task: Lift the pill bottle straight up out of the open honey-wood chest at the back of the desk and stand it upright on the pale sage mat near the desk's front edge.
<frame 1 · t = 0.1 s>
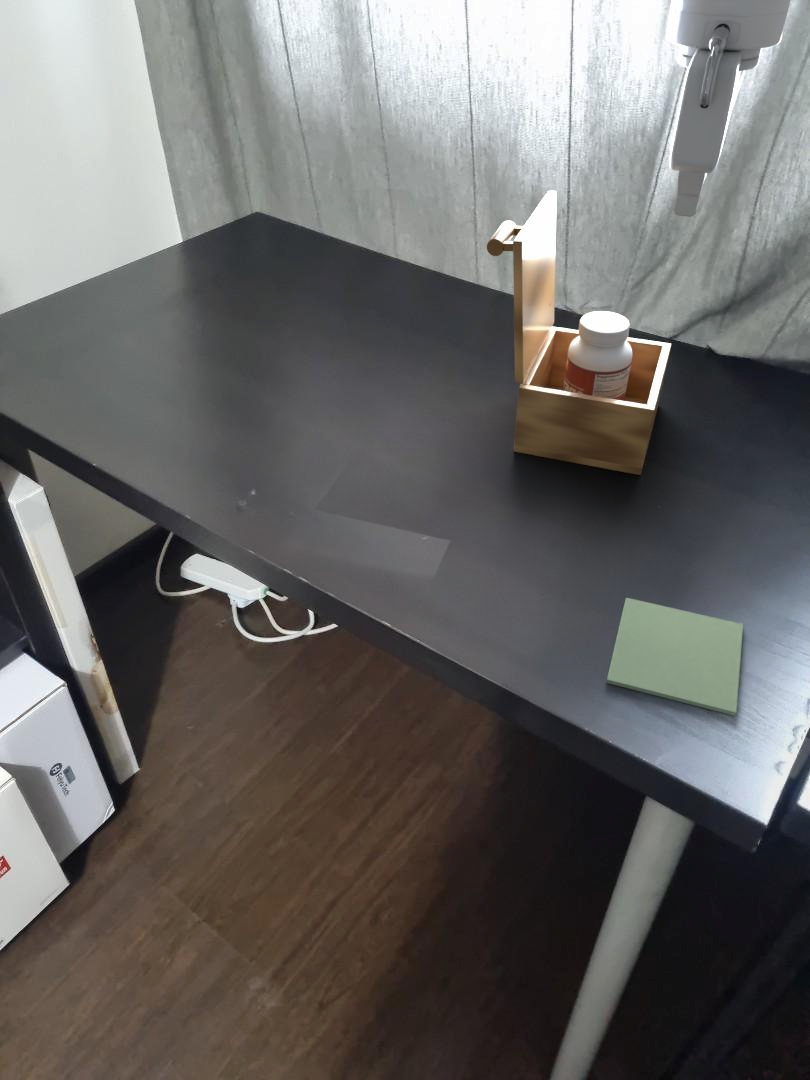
hand: (690, 196, 74), 22 cm above the table, tool pointing down, fingers open, 8 cm apart
chest lid: (517, 285, 79), point 14 cm above the table, hinge at 95.0°
chest: (588, 427, 86), on the table
pill bottle: (589, 422, 86), point 1 cm above the table, touching chest
mat: (676, 654, 62), on the table
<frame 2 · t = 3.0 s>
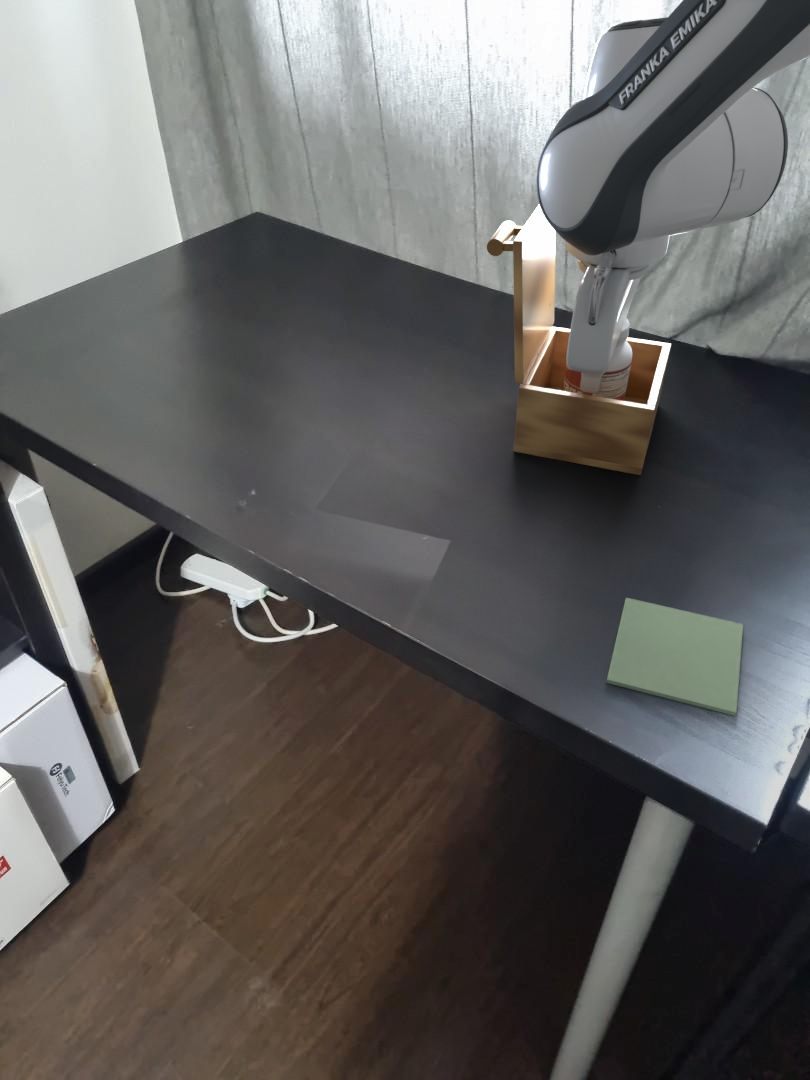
hand: (597, 370, 82), 7 cm above the table, tool pointing down, fingers closed on pill bottle, 6 cm apart
pill bottle: (589, 422, 86), point 1 cm above the table, touching chest, gripper
everything else where it was.
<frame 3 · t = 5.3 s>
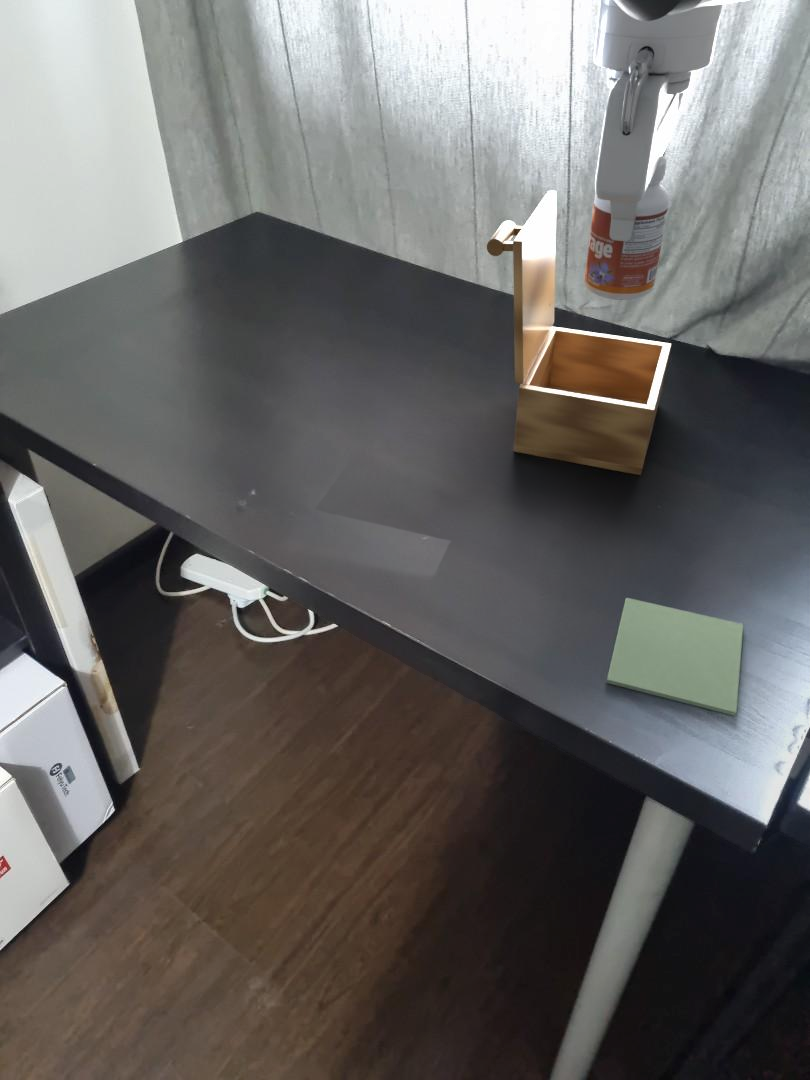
hand: (628, 222, 71), 22 cm above the table, tool pointing down, fingers closed on pill bottle, 6 cm apart
pill bottle: (618, 289, 75), point 16 cm above the table, touching gripper
everything else where it was.
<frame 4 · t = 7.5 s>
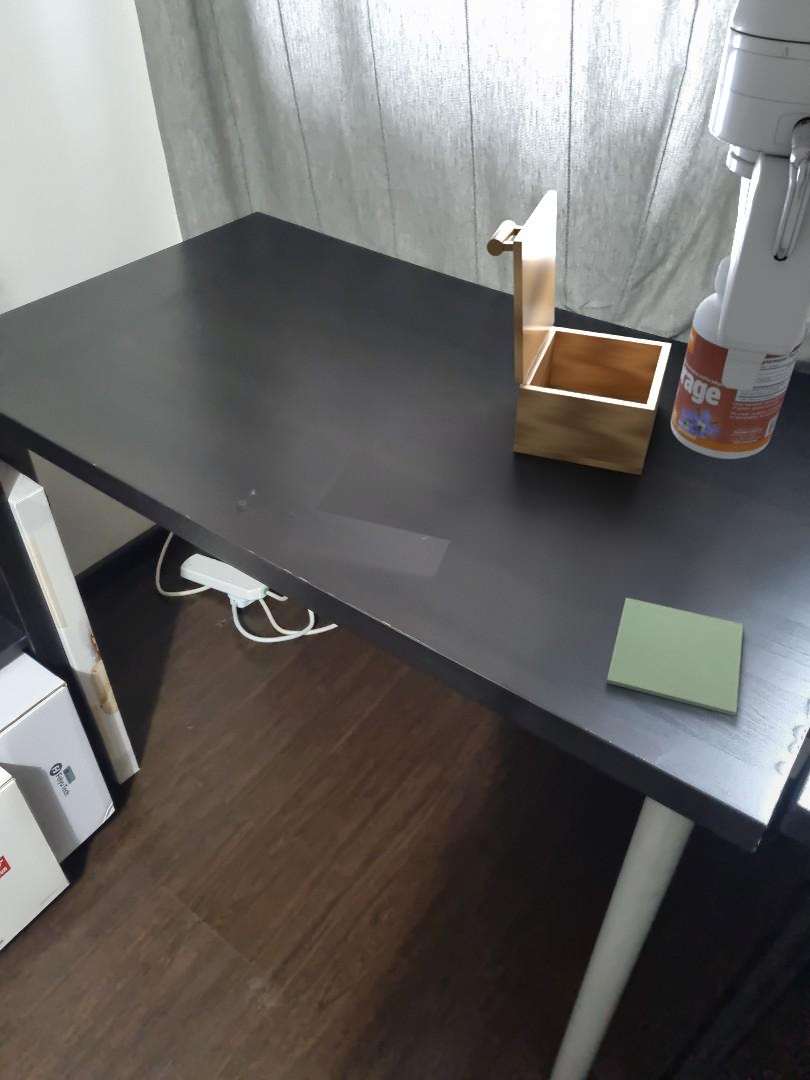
hand: (741, 353, 49), 23 cm above the table, tool pointing down, fingers closed on pill bottle, 6 cm apart
pill bottle: (717, 437, 53), point 17 cm above the table, touching gripper
everything else where it was.
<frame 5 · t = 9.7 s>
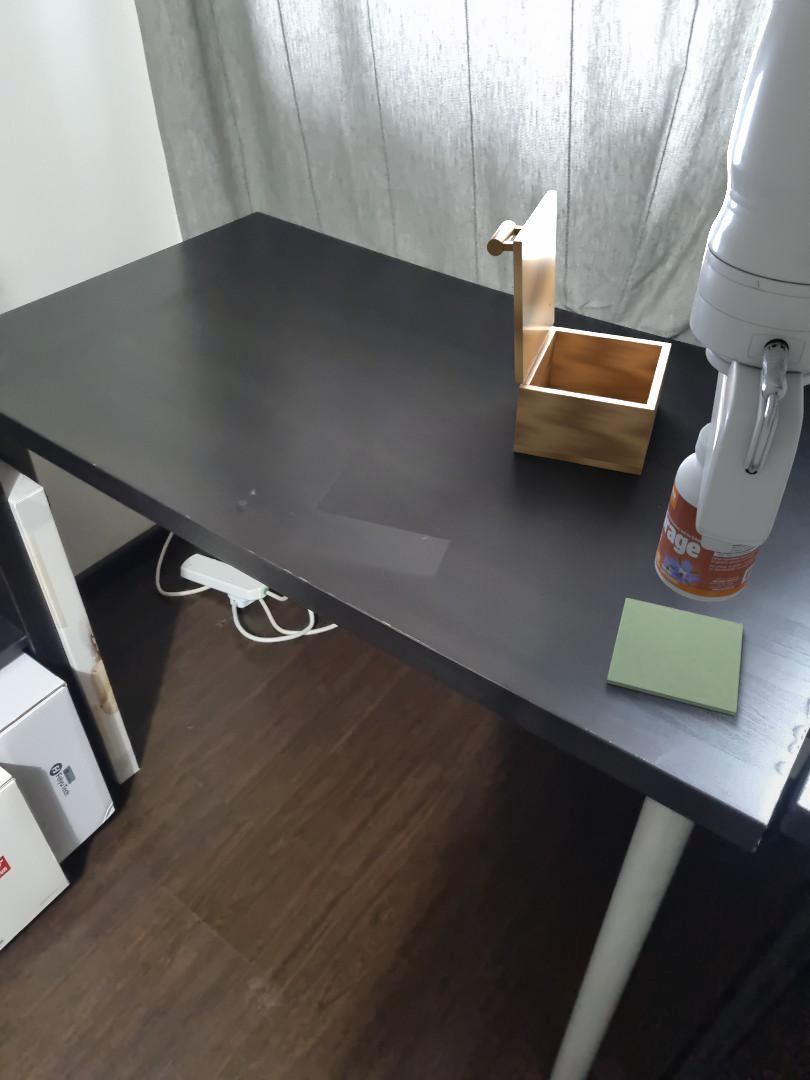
hand: (719, 507, 53), 14 cm above the table, tool pointing down, fingers closed on pill bottle, 6 cm apart
pill bottle: (698, 576, 57), point 8 cm above the table, touching gripper
everything else where it was.
when the fingers open (6 cm above the table, at t = 12.0 s): pill bottle stays where it is, resting on mat.
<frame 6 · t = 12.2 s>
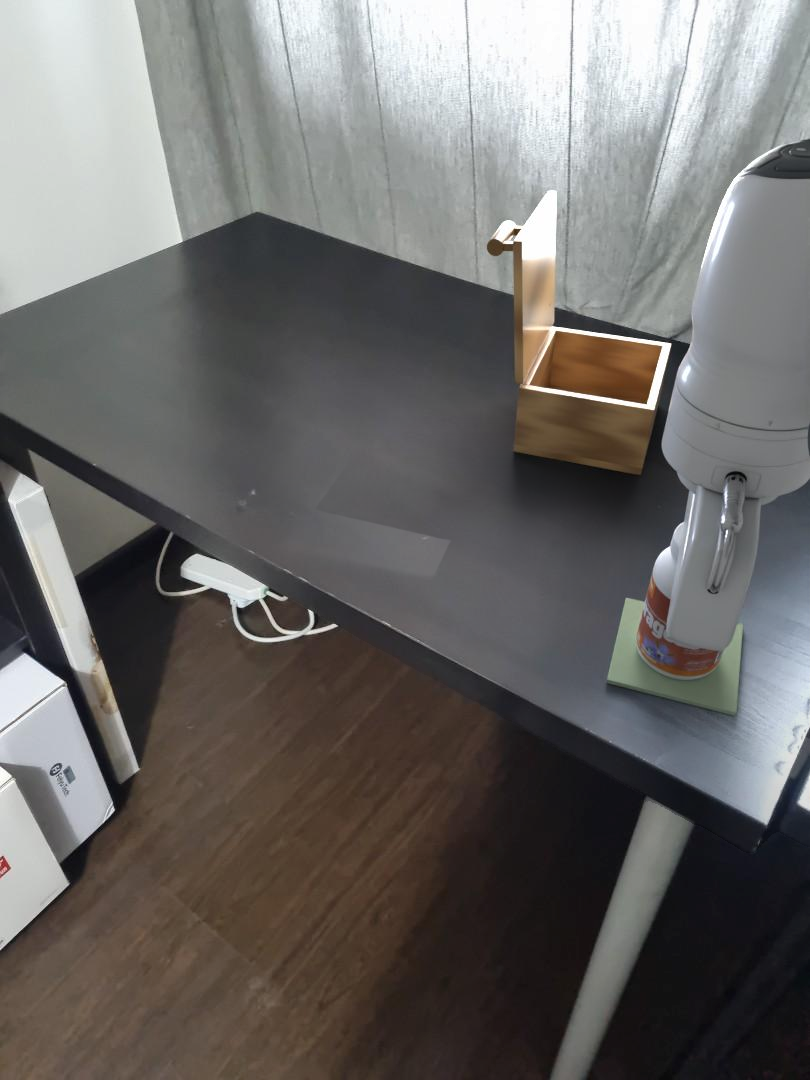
hand: (693, 597, 58), 6 cm above the table, tool pointing down, fingers open, 7 cm apart
pill bottle: (676, 653, 62), resting on mat
everything else where it was.
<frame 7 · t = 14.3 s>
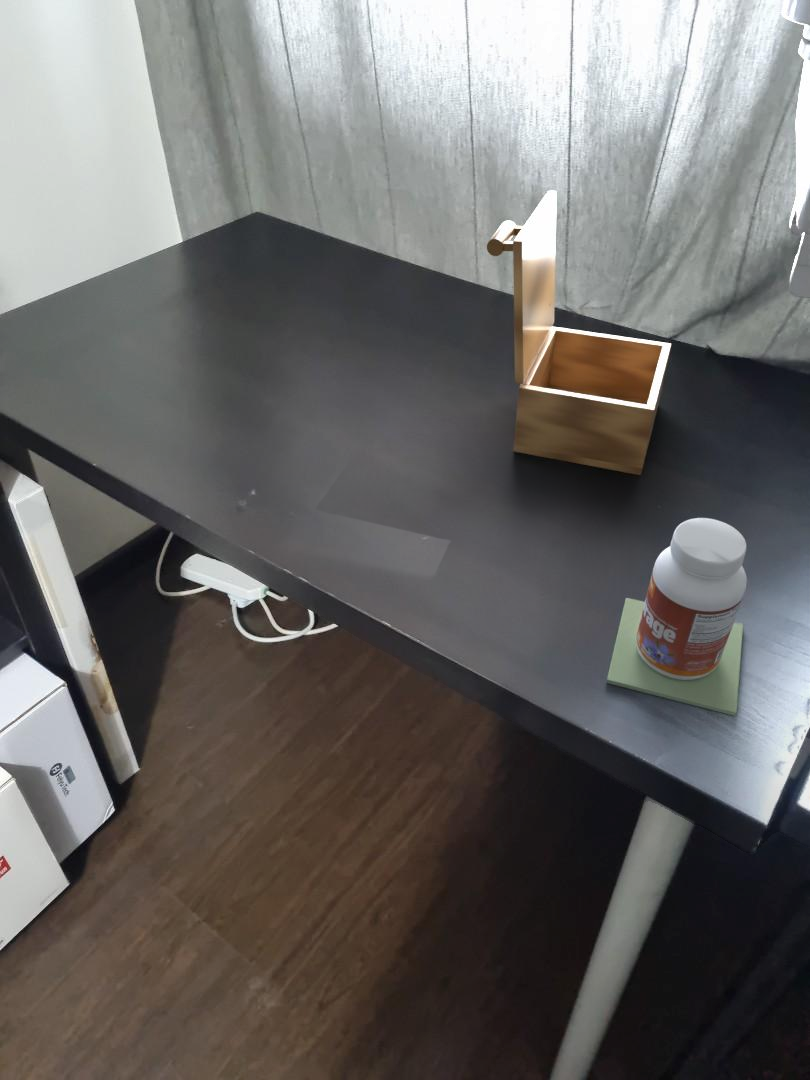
hand: (803, 260, 48), 28 cm above the table, tool pointing down, fingers open, 8 cm apart
nothing on the table moved.
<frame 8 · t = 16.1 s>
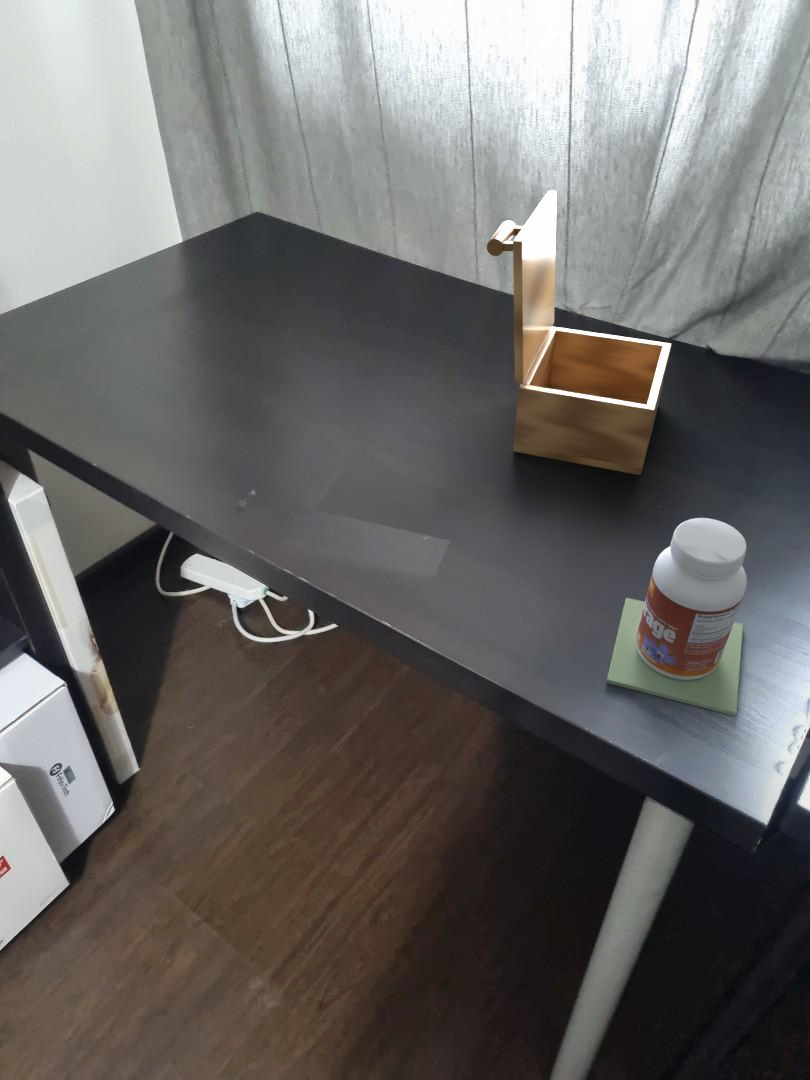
nothing on the table moved.
at the end: pill bottle 0.1 cm off-centre on the mat, point 0.2 cm above the mat's base; pill bottle tilted 0°; pill bottle touching mat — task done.
